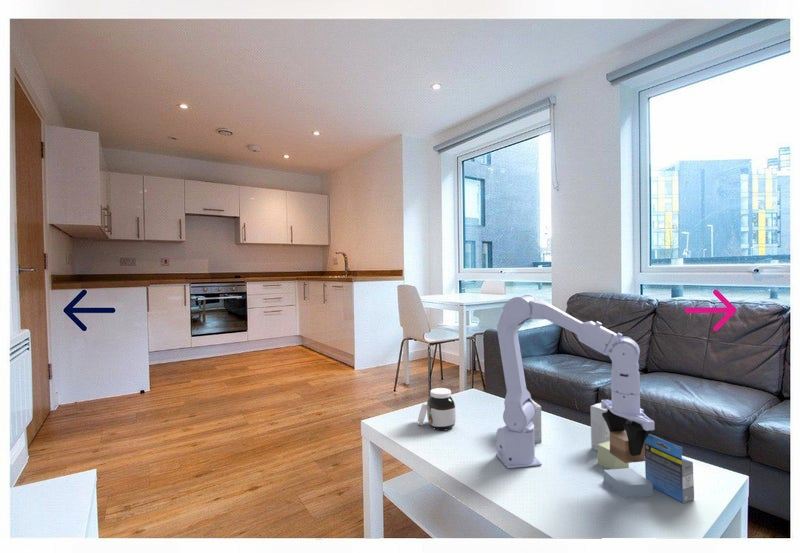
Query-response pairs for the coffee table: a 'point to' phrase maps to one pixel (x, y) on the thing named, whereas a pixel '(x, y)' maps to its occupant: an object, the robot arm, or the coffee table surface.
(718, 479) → the coffee table surface
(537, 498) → the coffee table surface
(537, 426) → the light bulb box
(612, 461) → the olive cube
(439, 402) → the spread jar
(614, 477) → the base slab
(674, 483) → the label tape box
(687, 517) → the coffee table surface
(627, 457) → the walnut cube
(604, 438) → the skincare box
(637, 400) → the robot arm
